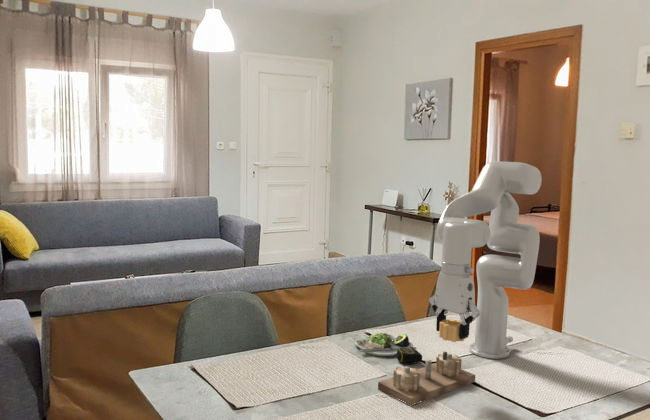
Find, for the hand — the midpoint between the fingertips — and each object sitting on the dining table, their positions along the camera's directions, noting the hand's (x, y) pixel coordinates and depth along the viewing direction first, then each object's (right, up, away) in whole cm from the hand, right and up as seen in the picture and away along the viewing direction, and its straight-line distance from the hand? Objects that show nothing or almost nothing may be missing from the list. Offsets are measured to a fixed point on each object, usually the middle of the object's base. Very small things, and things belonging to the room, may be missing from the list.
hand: (452, 333), depth 155 cm
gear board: (-6, -15, +4) cm, 17 cm away
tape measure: (-8, -13, +22) cm, 27 cm away
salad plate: (-14, -12, +33) cm, 38 cm away
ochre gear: (0, -1, 0) cm, 1 cm away
